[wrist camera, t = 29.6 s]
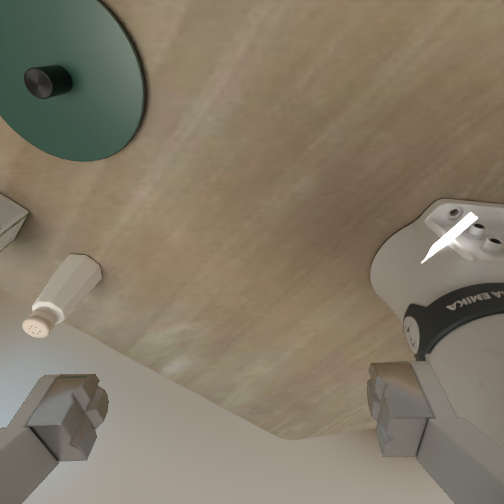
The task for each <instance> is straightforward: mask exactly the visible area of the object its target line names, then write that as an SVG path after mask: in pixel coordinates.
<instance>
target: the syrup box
mask: <svg viewBox="0 0 504 504" xmlns="http://www.w3.org/2000/svg"><path fill="white" fill-rule="evenodd" d="M28 214H29V212H28V211H27V210H26V209H24V208H23V207H21V206H20V205H18V204H17V203H15V202H14V201H12V200H10V199H9V198H7V197H5V196H4V195H2V194H1V193H0V252H1V251H2V250H3V249H4V248H5V247H7V246H8V245H9V244H10V243H11V242H13V241H14V240H15V238H16V236H17V234H18V232H19V230H20V228H21V226H22V225H23V223H24V221H25V219H26V217H27V216H28Z"/></svg>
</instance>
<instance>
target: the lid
mask: <svg viewBox="0 0 504 504" xmlns="http://www.w3.org/2000/svg"><path fill="white" fill-rule="evenodd" d="M144 106H145V85H144V78H143V72H142V68H141V65H140V62H139V58H138V56H137V53H136V51H135V48H134V46H133V44H132V42H131V40H130V38H129V37H128V35H127V33H126V31H125V30H124V28H123V27H122V25H121V24H120V23H119V21H118V20H117V19H116V17H115V16H114V15H113V14H112V13H111V12H110V10H109V9H108V8H107V7H106V6H105V5H104V4H103V3H102V2H100V1H99V0H0V115H1V117H2V118H3V119H4V120H5V121H6V122H7V123H8V125H9V126H10V127H11V128H12V129H13V130H14V131H16V132H17V133H18V134H19V135H20V136H21V137H22V138H24V139H25V140H26V141H28V142H29V143H31V144H32V145H34V146H35V147H37V148H39V149H40V150H42V151H44V152H46V153H49V154H51V155H53V156H56V157H59V158H62V159H67V160H71V161H80V162H84V161H95V160H100V159H103V158H107V157H109V156H111V155H113V154H115V153H116V152H118V151H119V150H121V149H122V148H123V147H124V146H125V145H126V144H127V143H128V142H129V141H130V140H131V139H132V137H133V136H134V135H135V133H136V131H137V129H138V127H139V125H140V122H141V119H142V116H143V111H144Z"/></svg>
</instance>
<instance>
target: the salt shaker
mask: <svg viewBox="0 0 504 504" xmlns="http://www.w3.org/2000/svg"><path fill="white" fill-rule="evenodd" d="M101 279H102V274H101V269H100V265H99V264H98V263H96V262H95V261H94V260H92V259H91V258H90V257H88V256H87V255H77V254H70V255H69V256H68V257H67V258H66V259H65V260H64V261H63V262H62V263H61V264H60V266H59V267H58V269H57V270H56V272H55V273H54V275H53V276H52V277H51V279H50V280H49V282H48V283H47V285H46V286H45V288H44V289H43V291H42V292H41V294H40V295H39V296H38V298H37V299H36V301H35V302H34V304H33V306H32V310H33V313H31V315H30V316H29V317H28V318H27V319H26V320H25V321H24V322H23V324H22V325H23V329H24V331H25V332H27V333H28V334H29V335H31V336H33V337H37V338H43V337H46V336H48V335H49V333H50V331H51V329H52V328H53V327H54V325H55V324H59V323H60V322H62V321H63V320H64V319H65V318H66V317H67V316H68V315H69V314H70V313H71V312H72V311H73V310H74V309H75V307H76V306H77V305H78V304H79V303H80V302H81V301H82V300H83V299H84V298H85V297H86V295H87V294H88V293H89V292H90V291H91V290H92V289H93V288H94V287H95V286H96V284H97V283H98V282H99V281H100V280H101Z"/></svg>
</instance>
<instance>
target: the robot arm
mask: <svg viewBox="0 0 504 504" xmlns="http://www.w3.org/2000/svg"><path fill="white" fill-rule="evenodd" d="M453 209H455V211H454V212H453V213H450V212H451V211H452V210H453ZM370 279H371V284H372V287H373V289H374V291H375V293H376V294H377V296H378V297H379V298H380V299H381V300H382V301H384V302H385V303H386V304H387V305H388V307H389V308H390V309H391V310H392V312H393V313H394V314H395V315H396V317H397V318H398V320H399V321H400V323H401V324H402V326H403V329H404V333H405V336H406V339H407V342H408V344H409V347H410V349H411V351H412V353H413V354H414V356H415V358H416V360H417V361H415V362H407V361H404V362H384V363H371V364H370V367H369V374H370V377H371V379H370V380H369V381H368V382H367V398H368V404H369V408H370V412H371V416H372V417H373V418H374V419H375V420H376V421H377V427H376V434H377V438H378V441H379V445H380V448H381V452H382V455H383V457H417V458H416V459H417V461H418V462H419V463H420V464H421V465H422V466H423V468H424V469H425V470H426V471H427V472H428V473H429V475H430V476H431V477H432V478H433V479H434V480H435V481H436V483H437V484H438V485H439V486H440V487H441V488H442V489H443V491H444V492H445V493H446V494H447V495H448V496H449V497H450V499H451V500H452V501H453V502H454V503H455V504H504V204H495V203H485V202H475V201H465V200H455V199H440V200H437V201H435V202H434V203H433V204H432V205H431V206H430V207H429V208H428V209H427V210H426V211H425V212H424V213H423V214H422V215H421V216H420V218H419V219H417V220H416V221H415V222H413V223H412V224H410V225H408V226H407V227H405V228H403V229H401V230H400V231H398V232H397V233H396V234H394V235H393V236H392V237H391V238H389V239H388V240H387V241H386V242H385V243H384V245H383V246H382V247H381V248H380V250H379V251H378V253H377V254H376V256H375V258H374V260H373V263H372V266H371V272H370ZM98 383H99V379H98V377H97V376H96V374H58V375H44V376H43V377H42V378H40V379H39V380H38V382H37V383H36V385H35V386H34V388H33V389H32V391H31V392H30V394H29V395H28V397H27V398H26V399H25V401H24V402H23V404H22V405H21V407H20V408H19V410H18V411H17V413H16V414H15V416H14V417H13V419H12V420H11V422H10V423H9V425H8V426H7V427H5V428H1V429H0V504H22V503H23V502H24V501H25V499H26V498H27V497H28V496H29V495H30V494H31V493H32V492H33V491H34V490H35V489H36V488H37V487H38V485H39V484H40V483H41V482H42V481H43V480H44V479H45V478H46V477H47V476H48V474H50V472H51V471H52V470H53V469H54V468H55V467H56V466H57V465H58V464H59V461H81V460H82V461H83V460H87V459H88V456H89V454H90V452H91V449H92V447H93V445H94V442H95V440H96V438H97V435H96V431H95V429H96V428H97V427H98V426H99V425H100V424H102V423H103V421H104V419H105V417H106V414H107V410H108V403H109V401H108V395H107V393H106V391H105V390H104V389H102V388H100V387H99V386H97V385H98Z"/></svg>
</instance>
